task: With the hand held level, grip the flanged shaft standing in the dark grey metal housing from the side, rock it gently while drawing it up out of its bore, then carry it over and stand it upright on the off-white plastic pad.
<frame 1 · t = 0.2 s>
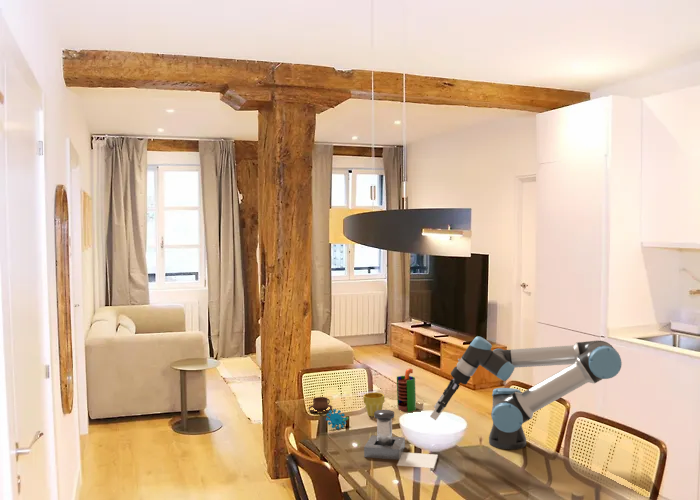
hand: (434, 413, 250), 15 cm above the table, tool tilted 35°, fingers open, 13 cm apart
plant pot: (374, 415, 300), on the table
gear: (337, 427, 283), on the table
flanged shaft: (385, 451, 247), point 1 cm above the table, touching housing
pad: (417, 462, 238), on the table
housing: (385, 454, 247), on the table
cup and saucer: (320, 411, 309), on the table
motor: (406, 409, 309), on the table
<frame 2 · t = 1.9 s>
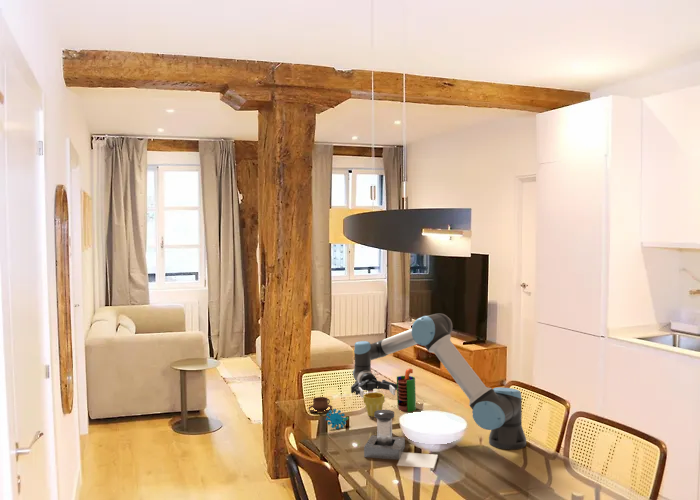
hand: (378, 393, 256), 22 cm above the table, tool horizontal, fingers open, 13 cm apart
nothing on the table moved.
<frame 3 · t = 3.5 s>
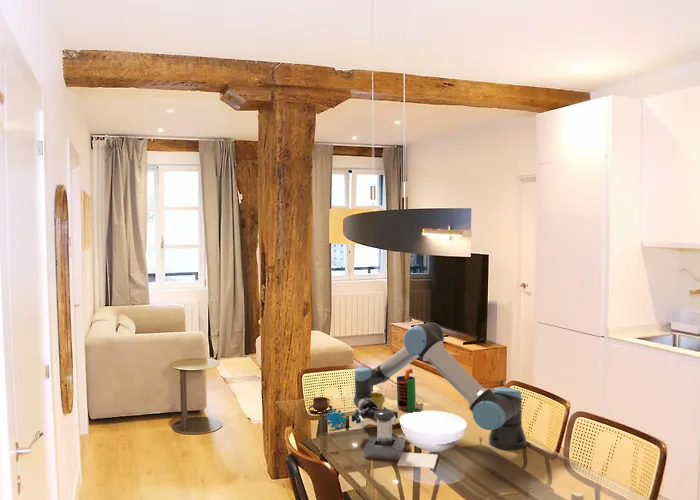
hand: (379, 422, 255), 10 cm above the table, tool horizontal, fingers open, 13 cm apart
nothing on the table moved.
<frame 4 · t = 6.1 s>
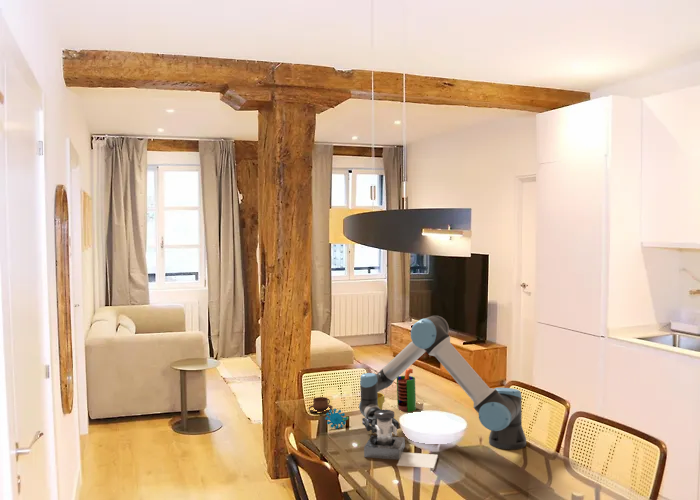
hand: (387, 432, 242), 11 cm above the table, tool horizontal, fingers closed on flanged shaft, 6 cm apart
flanged shaft: (385, 451, 247), point 1 cm above the table, touching gripper, housing
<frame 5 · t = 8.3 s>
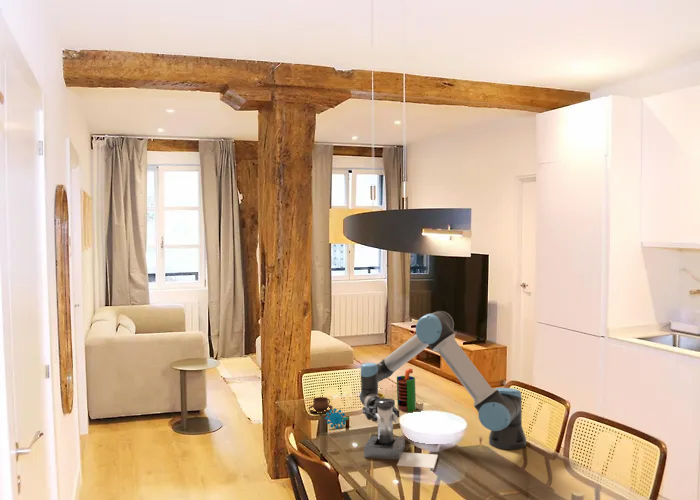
hand: (388, 420, 242), 15 cm above the table, tool horizontal, fingers closed on flanged shaft, 6 cm apart
flanged shaft: (385, 440, 247), point 6 cm above the table, touching gripper
everything else where it was.
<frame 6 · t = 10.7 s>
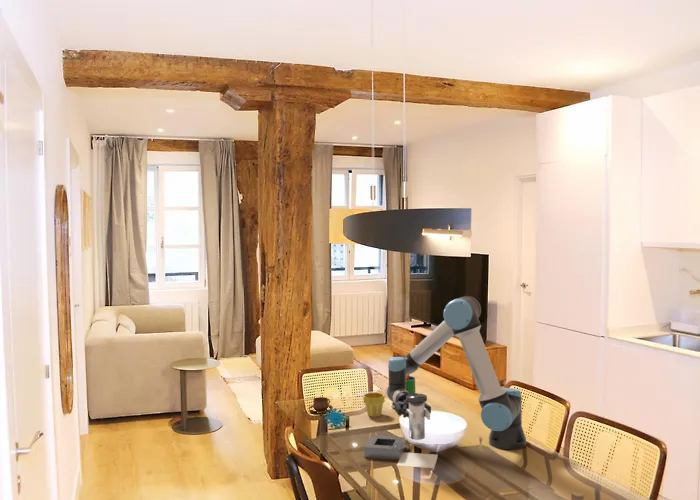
hand: (420, 416, 232), 19 cm above the table, tool horizontal, fingers closed on flanged shaft, 6 cm apart
flanged shaft: (417, 437, 238), point 10 cm above the table, touching gripper
when the fingers open (12 cm above the table, at t = 13.0 s): flanged shaft drops 1 cm, resting on pad.
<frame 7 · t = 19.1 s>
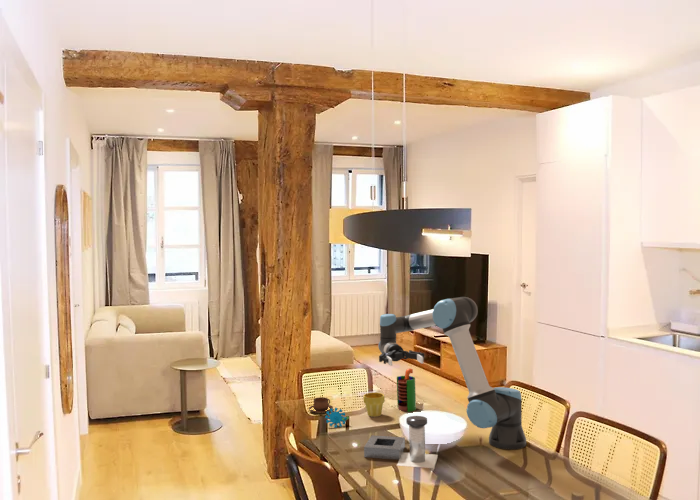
hand: (407, 361, 258), 35 cm above the table, tool horizontal, fingers open, 13 cm apart
flanged shaft: (417, 459, 238), point 1 cm above the table, touching pad
at the end: flanged shaft inside the target area on the pad (0.1 cm from its centre), point 1.0 cm above the pad's base; flanged shaft tilted 1°; the gripper is holding nothing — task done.
